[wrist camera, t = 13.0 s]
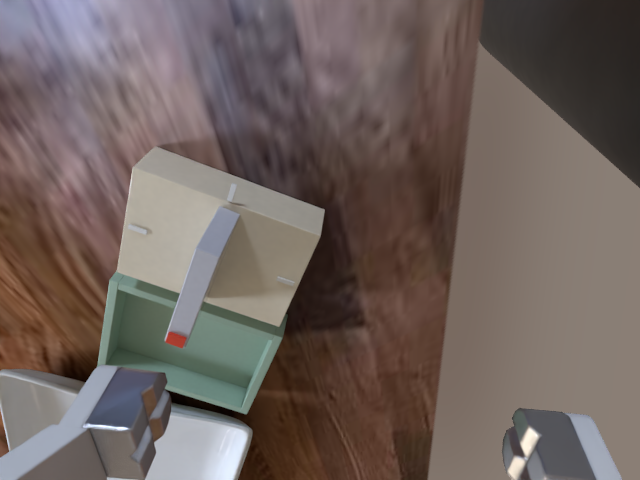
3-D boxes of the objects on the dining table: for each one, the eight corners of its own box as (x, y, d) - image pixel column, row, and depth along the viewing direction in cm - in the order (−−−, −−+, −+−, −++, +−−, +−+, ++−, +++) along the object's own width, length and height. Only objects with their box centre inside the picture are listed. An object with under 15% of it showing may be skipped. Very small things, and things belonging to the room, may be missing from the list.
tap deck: (332, 193, 36) (328, 219, 32) (281, 309, 43) (273, 341, 39) (158, 126, 34) (134, 147, 31) (134, 258, 41) (113, 287, 38)
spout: (219, 205, 33) (193, 250, 28) (240, 213, 33) (218, 259, 28) (189, 292, 37) (162, 343, 33) (207, 299, 38) (183, 351, 33)
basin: (288, 314, 43) (283, 337, 41) (253, 390, 50) (246, 414, 47) (125, 258, 41) (109, 279, 39) (111, 345, 48) (96, 368, 45)
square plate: (225, 519, 66) (218, 549, 62) (34, 475, 64) (16, 504, 61) (260, 405, 51) (253, 436, 48) (12, 345, 49) (-13, 373, 46)
